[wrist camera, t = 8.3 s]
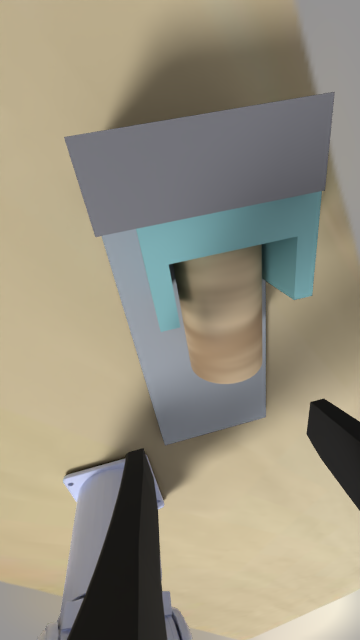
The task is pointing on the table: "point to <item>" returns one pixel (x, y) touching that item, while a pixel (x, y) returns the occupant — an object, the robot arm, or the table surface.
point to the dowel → (223, 313)
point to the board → (178, 357)
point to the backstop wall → (202, 163)
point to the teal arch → (236, 246)
